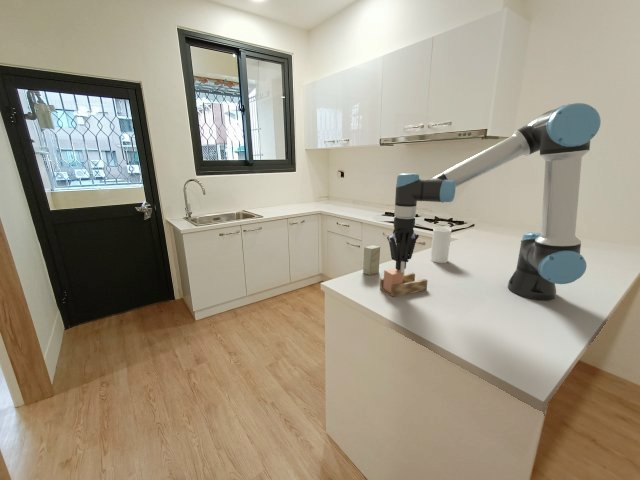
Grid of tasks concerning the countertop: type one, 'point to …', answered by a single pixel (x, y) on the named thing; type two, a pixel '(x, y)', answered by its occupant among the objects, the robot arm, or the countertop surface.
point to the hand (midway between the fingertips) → (399, 277)
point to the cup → (440, 245)
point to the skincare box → (371, 259)
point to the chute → (406, 286)
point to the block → (392, 278)
